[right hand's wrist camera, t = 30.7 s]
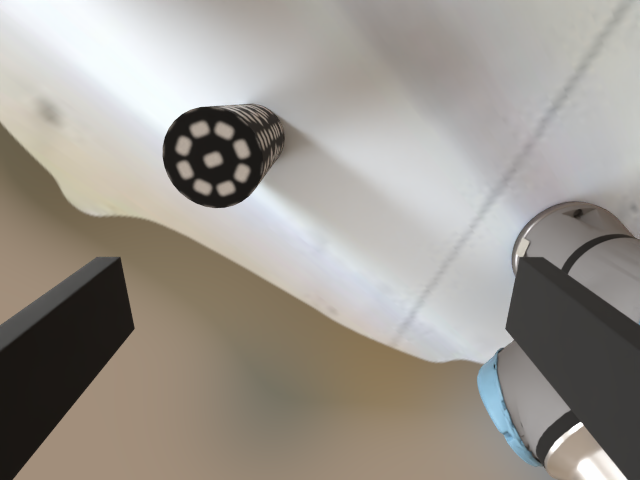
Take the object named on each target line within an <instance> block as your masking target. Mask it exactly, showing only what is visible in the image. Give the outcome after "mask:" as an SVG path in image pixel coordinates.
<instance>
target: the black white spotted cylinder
mask: <svg viewBox="0 0 640 480" xmlns="http://www.w3.org/2000/svg"><path fill="white" fill-rule="evenodd" d="M283 146H284V131H283V127H282V125H281V123H280V121H279V119H278V118H277V116H276V115H275V114H274V113H273V112H272V111H270V110H269V109H267V108H266V107H263V106H261V105H256V104H242V105H226V106H210V107H199V108H195V109H192V110H189V111H187V112H186V113H184V114H182V115H181V116H180V117H178V118H177V119H176V120H175V121H174V122H173V124H172V125H171V126H170V128H169V129H168V132H167V134H166V136H165V139H164V144H163V161H164V166H165V169H166V172H167V174H168V177H169V178H170V180H171V182H172V183H173V185H174V186H175V187H176V188H177V189H178V191H179V192H180V193H181V194H183V195H184V196H185V197H186V198H188V199H189V200H191V201H193V202H195V203H197V204H200V205H202V206H205V207H212V208H225V207H229V206H233V205H236V204H238V203H240V202H242V201H243V200H245V199H246V198H247V197H249V196H250V194H251V193H252V192H253V191H254V190H255V189H256V187H257V186H258V184H259V183H260V182H261V180H262V179H263V178H264V176H265V175H266V173H267V172H268V171H269V169H270V168H271V166H272V165H273V164H274V162H275V161H276V160H277V158H278V157H279V155H280V153H281V152H282V149H283Z"/></svg>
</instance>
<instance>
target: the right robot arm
mask: <svg viewBox="0 0 640 480" xmlns="http://www.w3.org/2000/svg"><path fill="white" fill-rule="evenodd" d="M512 268H513V272H514V275H515V277H516V278H515V283H514V288H513V293H512V298H511V303H510V308H509V313H508V318H507V323H506V328H505V329H506V330H507V331H508V333H509V334H510V335H511V336H512V338H513V339H514V341H513V342H511V343H510V344H509V345H507V346H506V347H505V348H501V349H499V350H498V351H497V352H496V354H495V355H494V356H493V357H492V358H491V359H490V360H489V361H488V362H486V363H485V364H484V365H483V366H482V367H481V368H480V370H479V374H478V377H477V383H478V389H479V392H480V395H481V398H482V400H483V403H484V405H485V407H486V409H487V411H488V413H489V415H490V417H491V419H492V420H493V422H494V424H495V425H496V427H497V429H498V430H499V431H500V433H502V434H503V435H504V436H505V438H506V440H507V442H508V444H509V445H510V447H511V448H512V449H513V450H514V451H515V452H516V454H517V455H518V456H519V457H520V458H521V459H523V460H524V461H525V462H526V463H528V464H530V465H532V466H535V467H537V466H544V468H545V469H546V471H547V472H548V473H549V475H550V476H551V477H553V478H555V479H558V480H640V240H639V239H637V238H635V237H634V236H633V235H632V234H631V233H630V232H629V231H628V230H627V228H626V227H625V226H624V225H623V224H622V223H621V222H620V221H619V219H618V218H617V217H615V216H614V215H613V214H612V213H610V212H609V211H607V210H605V209H603V208H601V207H599V206H596V205H593V204H590V203H586V202H566V203H561V204H558V205H555V206H552V207H550V208H548V209H546V210H544V211H542V212H541V213H539V214H538V215H536V216H535V217H534V218H533V219H532V220H531V221H530V222H529V223H528V224H527V225H526V226H525V227H524V228H523V230H522V231H521V232H520V234H519V236H518V238H517V240H516V242H515V244H514V248H513V252H512ZM133 330H134V323H133V318H132V313H131V308H130V303H129V298H128V293H127V288H126V283H125V278H124V273H123V268H122V263H121V258H120V257H96V258H95V259H93V260H92V261H91V262H89V263H88V264H86V265H85V266H83V267H82V268H81V269H79V270H78V271H76V272H75V273H74V274H72V275H71V276H69V277H68V278H66V279H65V280H64V281H62V282H61V283H59V284H58V285H57V286H55V287H54V288H52V289H51V290H49V291H48V292H47V293H45V294H44V295H42V296H41V297H40V298H38V299H37V300H35V301H34V302H32V303H31V304H30V305H28V306H27V307H25V308H24V309H23V310H21V311H20V312H18V313H17V314H16V315H14V316H13V317H11V318H10V319H8V320H7V321H6V322H4V323H3V324H1V325H0V480H13V478H14V477H15V476H16V475H17V473H18V472H19V471H20V470H21V469H22V467H23V466H24V465H25V464H26V462H27V461H28V460H29V459H30V457H31V456H32V455H33V454H34V453H35V451H36V450H37V449H38V448H39V446H40V445H41V444H42V443H43V441H44V440H45V439H46V438H47V436H48V435H49V434H50V433H51V432H52V430H53V429H54V428H55V427H56V425H57V424H58V423H59V422H60V420H61V419H62V418H63V417H64V415H65V414H66V413H67V412H68V410H69V409H70V408H71V407H72V406H73V404H74V403H75V402H76V401H77V399H78V398H79V397H80V396H81V394H82V393H83V392H84V391H85V389H86V388H87V387H88V386H89V384H90V383H91V382H92V381H93V380H94V378H95V377H96V376H97V375H98V373H99V372H100V371H101V370H102V368H103V367H104V366H105V365H106V364H107V362H108V361H109V360H110V359H111V357H112V356H113V355H114V354H115V352H116V351H117V350H118V349H119V347H120V346H121V345H122V344H123V342H124V341H125V340H126V339H127V338H128V336H129V335H130V334H131V333H132V331H133Z"/></svg>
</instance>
